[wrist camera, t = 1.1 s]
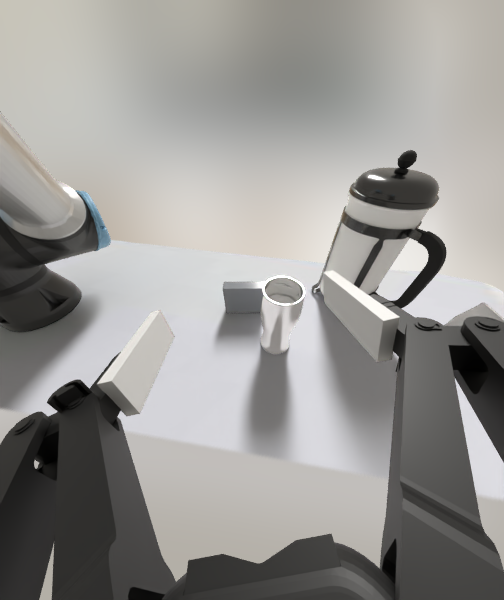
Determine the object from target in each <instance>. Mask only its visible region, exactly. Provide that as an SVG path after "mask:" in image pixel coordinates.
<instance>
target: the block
mask: <svg viewBox="0 0 504 600" xmlns="http://www.w3.org/2000/svg"><path fill="white" fill-rule="evenodd" d="M264 283H265V282H224V284H223V294H224V300H225V307H226V313H260V302H261V295H262V288H263V285H264Z"/></svg>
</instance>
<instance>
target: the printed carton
mask: <svg viewBox="0 0 504 600" xmlns="http://www.w3.org/2000/svg"><path fill="white" fill-rule="evenodd" d="M473 316H481V317H489V318H494V319H497V320H499V321H502V322H504V318H502V317H501V316H500V315H499V314H498V313H496V312H495V311H494V310H493V309H492V308H490V307H489V306H488V305H487V304H486V303H481V304H479V305H478V306H476V307H474V308H472V309H470V310H468V311H466V312H464V313H462V314H460V315H458V316H456V317H454V318H453V319H452V320H450V321H449V322H448V323H447V324H445V325H444V326H462V325H463V322H464V320H465V319H466V318H468V317H473Z"/></svg>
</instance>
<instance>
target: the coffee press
mask: <svg viewBox="0 0 504 600" xmlns="http://www.w3.org/2000/svg"><path fill="white" fill-rule="evenodd" d="M416 157H417V154H416V152H415V151H413V150H410V151H406V152H404V153H403V154H402V155H401V156H400V158H398V166H399V167H400V168H378V169H373V170H369V171H367V172H365V173H363V174H362V175H361V176H360V177H359V178H358V179H357V180H356V182H355V183H353V184H352V185H351V187H350V190H349V192H348V196H350V197H349V200H348V203H347V205H346V206H345V208H344V210H343V213H342V216H341V220H340V222H339V225H338V228H337V231H336V234H335V236H334V239H333V242H332V245H331V248H330V251H329V254H328V257H327V260H326V263H325V266H324V268H323V271H322V274H321V277H320V280H319V282H318V283H317V284H316V285H314V286H313V287H312V292H313V293H317V292H320V291H321V292H322V294H323V295H324V284H323V272H327V271H332V270H333V271H335V272H336V273H338V274H339V275H340V276H342V277H343V278H345V279H346V280H348V281H349V282H350V283H352V284H353V285H355V286H356V287H358V288H359V289H360V290H362V291H363V292H365V293H366V294H368V295H372V294H375V295H378V294H377V293H376V290H377V289H378V287H379V284H380V282H381V281H382V279H383V278H384V276H385V275H386V273H387V272H388V270H389V269H390V267H391V266H392V264H393V262H394V261H395V259H396V258H397V256H398V255H399V254H400V252H401V250H402V249H403V247H404V246H405V244H406V243H407V241H408V240H409V238H412V239H414V240H416V241H418V243H420V244H422V245H423V246H424V247H426V249H427V251H428V254H429V258H428V262H427V264H426V266H425V267H424V269H423V270H422V271H421V273H420V274H419V275H418V276H417V278H416V279H415V280H414V281H413V282H412V284H411V285H410V286H409V287H408V288H407V290H406V291H405V292H404V293H403V295H402V296H401V297H400V298H399V299H398V300H396V301H390V302H391V303H393V304H394V305H395V306H398V307H399V308H403V307H405V306H406V305H408V304H409V303H410V302H412V301H413V300H414V299H415V298H416V297H417V295H418V294H419V293H420V292H421V291H422V290H423V289H424V288H425V287H426V286H427V284H428V283H429V282H430V281H431V280H432V279H433V278H434V276H435V275H436V274H437V273H438V272H439V270H440V269H441V267H442V266H443V264H444V261H445V258H446V247H445V244H444V243H443V241H442V240H441V239H440V238H439V237H438V236H436V235H435V234H433V233H431V232H429V231H428V232H426V231H423V230H420V229H418V228H419V226H420V224H421V220H422V219H423V217H424V216H425V214H426V213H427V211H428V210H429V209H430V208H432V207H433V206H434V205H435V204H436V203H437V201H438V199H439V197H438V195H437V194H438V191H439V186H438V183H437V181H436V180H435V179H434V178H432V177H431V176H429V175H427V174H425V173H422V172H418V171H414V170H409V169H407V168H408V167H410V166H411V165H413V163H414V162H415V161H416ZM319 284H320V288H318V289H315V288H317V287H318V286H319ZM378 296H379V295H378Z"/></svg>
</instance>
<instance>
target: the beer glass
mask: <svg viewBox="0 0 504 600" xmlns="http://www.w3.org/2000/svg"><path fill="white" fill-rule="evenodd" d="M304 297H305V289H304V287H303V285H302V284H301V283H300V282H299V281H297V280H295V279H293V278H290V277H285V276H278V277H273V278H270V279H269V280H267V281H266V282H265V283H264V285H263V288H262V295H261V302H260V316H261V322H262V326H263V333H262V336H261V345H262V347H263V349H264V350H265V351H267V352H268V353H271V354H282V353H284V352H285V351H286V350H287V349H288V347H289V344H290V340H289V337H290V334H291V332H292V331H293V329H294V328H295V326H296V324H297V323H298V321H299V318H300V315H301V312H302V308H303V303H304Z"/></svg>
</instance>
